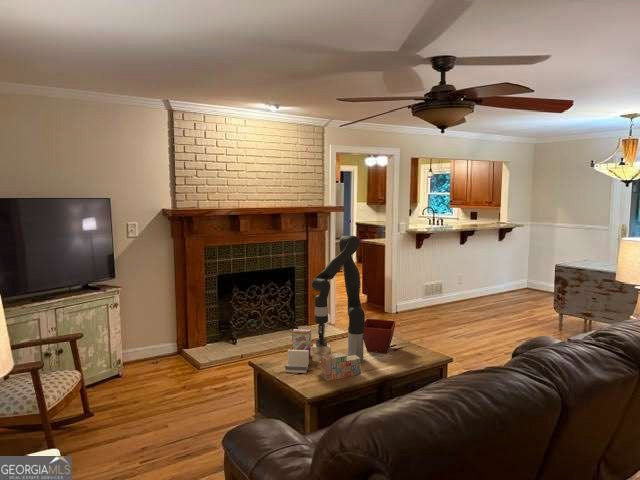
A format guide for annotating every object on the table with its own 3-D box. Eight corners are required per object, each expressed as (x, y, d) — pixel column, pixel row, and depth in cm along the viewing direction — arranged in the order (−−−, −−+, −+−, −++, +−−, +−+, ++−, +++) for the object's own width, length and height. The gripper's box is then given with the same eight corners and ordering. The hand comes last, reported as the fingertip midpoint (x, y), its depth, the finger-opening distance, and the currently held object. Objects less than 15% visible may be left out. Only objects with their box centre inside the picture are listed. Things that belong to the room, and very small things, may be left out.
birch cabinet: (330, 357, 263) (330, 337, 261) (330, 361, 258) (330, 340, 256) (313, 357, 264) (313, 337, 262) (312, 360, 259) (312, 340, 257)
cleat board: (308, 364, 270) (308, 349, 269) (306, 372, 259) (306, 357, 258) (288, 363, 272) (288, 349, 271) (284, 372, 260) (284, 356, 259)
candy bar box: (292, 357, 282) (291, 331, 280) (293, 354, 287) (293, 328, 285) (310, 358, 281) (310, 331, 279) (311, 355, 286) (311, 329, 284)
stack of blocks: (355, 370, 263) (355, 349, 261) (360, 374, 257) (361, 353, 256) (321, 376, 254) (321, 355, 252) (326, 381, 248) (326, 359, 247)
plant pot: (360, 352, 290) (360, 326, 288) (366, 342, 308) (366, 318, 306) (390, 356, 284) (391, 329, 282) (395, 345, 302) (395, 320, 300)
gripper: (327, 317, 250) (327, 348, 253) (328, 310, 264) (329, 339, 266) (313, 317, 251) (313, 348, 253) (315, 310, 265) (316, 339, 267)
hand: (321, 343), depth 260 cm, fingers closed on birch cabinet, 1 cm apart
